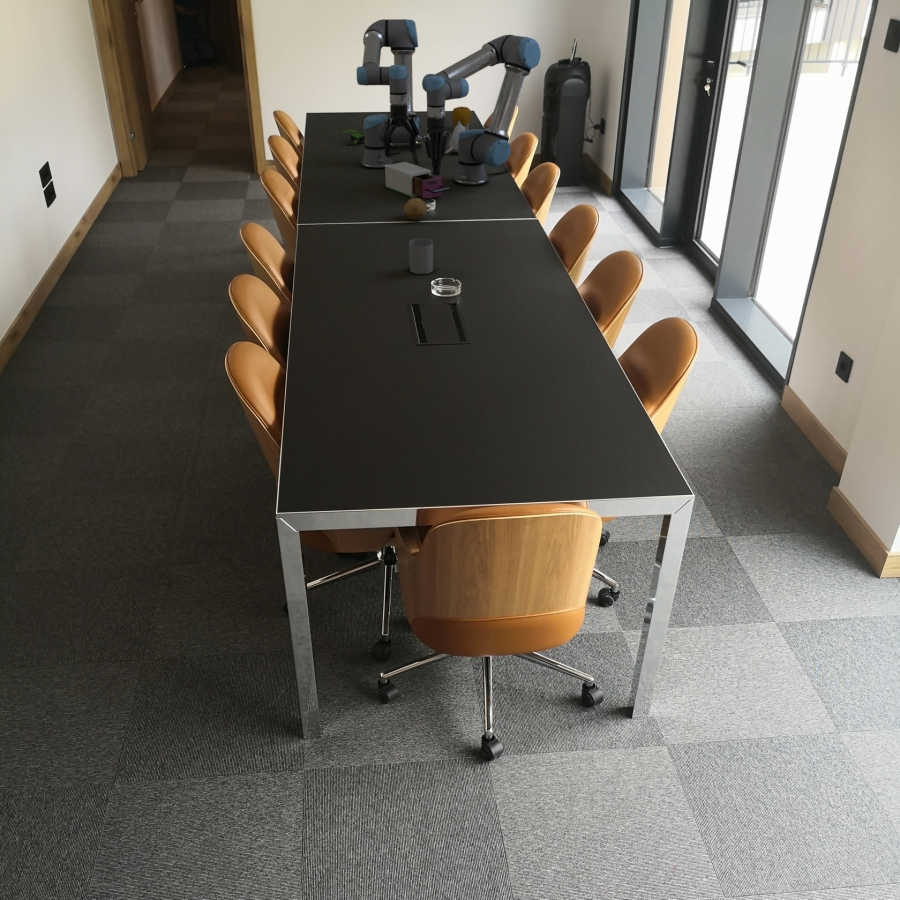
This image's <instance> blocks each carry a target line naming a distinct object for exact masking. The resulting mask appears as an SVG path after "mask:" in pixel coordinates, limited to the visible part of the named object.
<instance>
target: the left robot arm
mask: <svg viewBox="0 0 900 900" xmlns="http://www.w3.org/2000/svg"><path fill="white" fill-rule="evenodd" d="M362 44H363V46H364V49H363V56H362V57H363V58H362V65H361V66H357V68H356V82H357V85H358V86H388V87H389V104H390V105H389V113H390V117H389V116H388V114H387V113H377V114H371V115H368V116H366V117H365V118H364V119H363V134H364V140H365V141H364V151H363V155H362V159H361V166H362V167H363V168H366V169H371V170H381V169H385V166H387V165H392V164H394V161H393V158H392V156H393V155H398V154H400V151H394V152H391V144H409V152H410V153H412V154H413V153H415V152H416V151H415V150H416V149H415V148H416V142H417V141H418V136H419V135H420V131H419V128H420V127H419V126H420V118H419V117H417V113H416V112H415V111H414V86H413V85H414V84H413V82H414V81H413V80H414V79H413V55H414V54H415V53H416V48H419V39H418V31H417V25H416V21H415V20H414V19H406V18H402V19H401V18H400V19H399V18H398V19H395V18H394V19H393V18H391V19H390V18H389V19H388V18H387V19H385V18H384V19H383V18H382V19H379V20H376V21H374V22H373V23H371V24H370V25H369V26H368V27H367V29H366V30H365V32H364V34H363V38H362ZM383 48H390V53H391V54H392V55H393V64H392V65H390V66H380V65H381V55H382V49H383Z"/></svg>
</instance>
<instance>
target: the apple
mask: <svg viewBox="0 0 900 900" xmlns="http://www.w3.org/2000/svg"><path fill="white" fill-rule="evenodd" d="M451 121H452V125H453V129H455V127H456V126H457V124H458V121H459V122H460V123H461V124H462V126H463V127H466V128H467V124H468V127H469V126H470V124H471V121H472V111H471V108H469V107H467V106H462V105H461V106H457V107H454V108H452V111H451Z"/></svg>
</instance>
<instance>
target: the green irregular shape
mask: <svg viewBox="0 0 900 900" xmlns="http://www.w3.org/2000/svg"><path fill="white" fill-rule="evenodd" d="M349 132H352V133H351V134H349V136H350V138H349V140H350V141H353V142H348V141H345V140H342V139H340V142H342V143H344V144H345V145H349V146H356V145H358V144H360V143H362V142H365V140H364V133H362V132H359V131H358V130H357V129H346V130H345V131H342V132H340V134H345V133H349Z"/></svg>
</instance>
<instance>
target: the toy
mask: <svg viewBox="0 0 900 900" xmlns="http://www.w3.org/2000/svg"><path fill="white" fill-rule="evenodd" d="M465 130H470V129H469V126H468V124H467V128H466V127H463V126H462V124H461V123H460V122H459V121H458V124H457V126H456V127H455V128H453V132H452V133H451V137H450V138H451V139H450V140H449V145H448V146H449V149H446V151H445V155H446V154H448V153H450V154H454V152H455V153H457V155H459V148H458V140H459V133H460V132H461V131H465Z"/></svg>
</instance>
